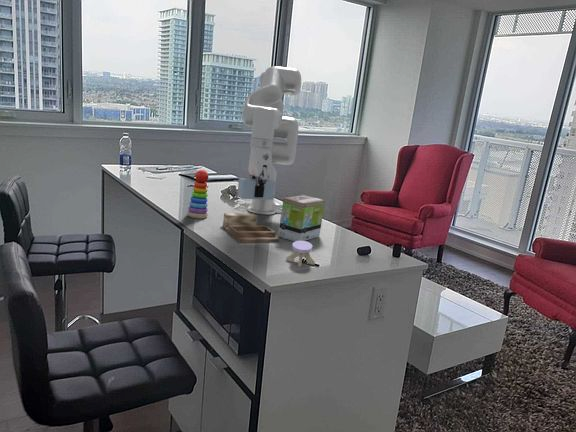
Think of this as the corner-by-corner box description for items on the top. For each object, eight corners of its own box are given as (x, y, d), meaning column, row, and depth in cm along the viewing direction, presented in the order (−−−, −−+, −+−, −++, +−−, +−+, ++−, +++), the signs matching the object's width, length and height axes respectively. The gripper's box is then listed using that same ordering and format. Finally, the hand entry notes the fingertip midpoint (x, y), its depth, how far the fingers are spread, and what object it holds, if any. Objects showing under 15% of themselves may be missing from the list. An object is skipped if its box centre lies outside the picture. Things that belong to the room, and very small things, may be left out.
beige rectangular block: (252, 225, 185) (253, 213, 184) (255, 228, 182) (256, 215, 181) (222, 225, 179) (224, 213, 178) (225, 228, 176) (227, 215, 175)
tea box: (300, 243, 168) (306, 203, 165) (277, 236, 173) (282, 197, 170) (320, 236, 181) (325, 199, 178) (297, 230, 186) (302, 193, 183)
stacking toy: (190, 219, 183) (194, 171, 179) (184, 214, 190) (188, 167, 186) (210, 219, 187) (214, 172, 183) (203, 214, 193) (207, 168, 189)
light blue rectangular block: (268, 197, 172) (270, 179, 171) (273, 199, 168) (275, 181, 167) (237, 196, 166) (239, 177, 165) (241, 198, 163) (243, 180, 161)
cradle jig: (261, 229, 181) (262, 223, 180) (279, 241, 167) (280, 235, 166) (224, 229, 174) (225, 222, 173) (239, 242, 160) (240, 235, 160)
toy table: (290, 255, 153) (293, 238, 152) (317, 261, 151) (320, 244, 150) (282, 263, 144) (284, 245, 143) (310, 269, 142) (313, 251, 140)
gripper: (281, 147, 158) (275, 201, 161) (262, 142, 172) (256, 191, 176) (261, 145, 154) (255, 200, 158) (242, 140, 169) (237, 190, 173)
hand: (255, 195), depth 167 cm, fingers closed on light blue rectangular block, 4 cm apart
